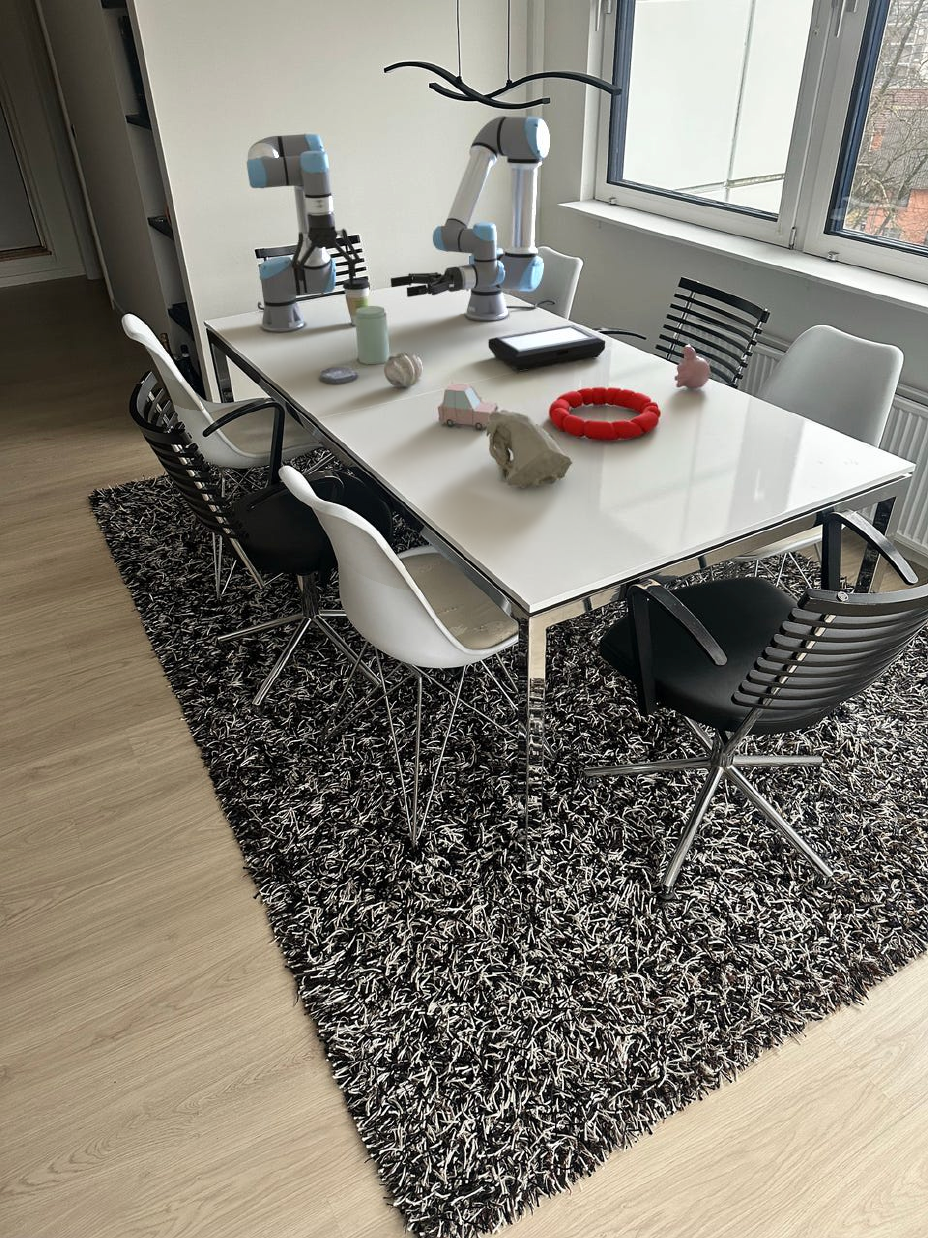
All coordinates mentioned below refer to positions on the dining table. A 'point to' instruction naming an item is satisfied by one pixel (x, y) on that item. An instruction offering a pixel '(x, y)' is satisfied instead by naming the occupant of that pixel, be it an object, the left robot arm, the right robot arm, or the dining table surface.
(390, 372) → the seashell
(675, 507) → the dining table surface
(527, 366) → the electronic device
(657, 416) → the decorative ring
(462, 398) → the toy car
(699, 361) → the figurine
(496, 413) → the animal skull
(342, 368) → the lid
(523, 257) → the right robot arm
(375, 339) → the jar
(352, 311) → the coffee cup
